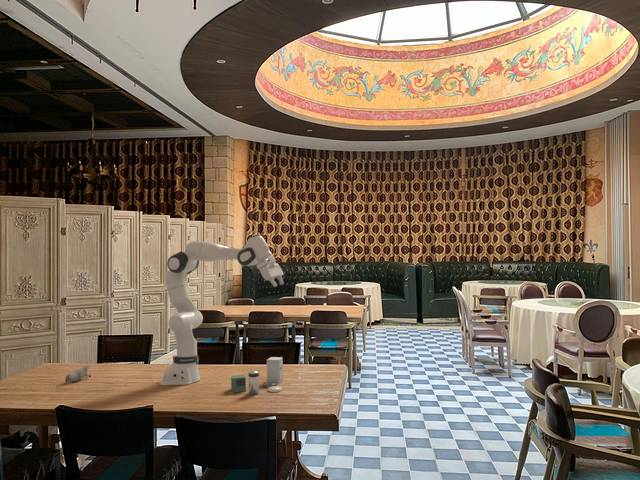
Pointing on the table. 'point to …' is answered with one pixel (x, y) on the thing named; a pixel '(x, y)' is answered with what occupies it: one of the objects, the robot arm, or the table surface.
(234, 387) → the block
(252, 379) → the grey-lidded jar
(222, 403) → the table surface
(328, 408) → the table surface
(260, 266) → the robot arm
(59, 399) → the table surface
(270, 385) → the disc
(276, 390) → the cream dome cap
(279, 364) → the supplement box
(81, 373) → the decorative bird
